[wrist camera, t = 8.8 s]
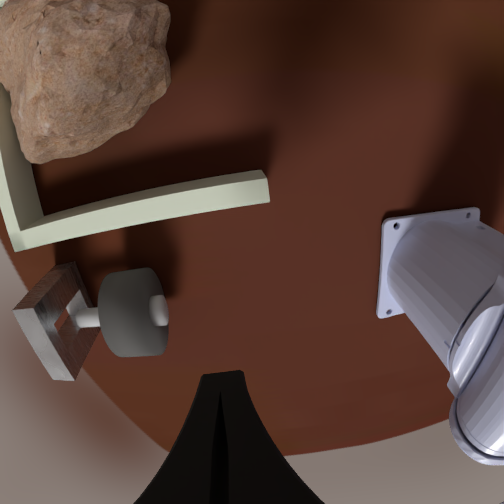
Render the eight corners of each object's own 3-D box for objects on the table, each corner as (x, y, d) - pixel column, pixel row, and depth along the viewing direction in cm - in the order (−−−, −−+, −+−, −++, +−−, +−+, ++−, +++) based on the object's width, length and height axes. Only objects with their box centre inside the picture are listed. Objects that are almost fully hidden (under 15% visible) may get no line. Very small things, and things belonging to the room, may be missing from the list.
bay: (223, -68, 10) (222, -92, 7) (263, 189, 17) (270, 202, 15) (10, 10, 10) (-13, 3, 7) (37, 235, 17) (14, 252, 15)
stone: (193, 104, 17) (229, -24, 7) (92, 218, 15) (11, 134, 5) (75, 34, 15) (60, -65, 5) (-14, 120, 13) (-77, 37, 3)
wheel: (160, 251, 18) (138, 296, 13) (180, 319, 20) (169, 372, 15) (81, 265, 18) (46, 306, 13) (107, 326, 20) (83, 374, 15)
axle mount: (75, 261, 18) (33, 308, 13) (102, 326, 21) (75, 380, 15) (55, 265, 18) (12, 309, 13) (82, 327, 21) (53, 379, 15)
